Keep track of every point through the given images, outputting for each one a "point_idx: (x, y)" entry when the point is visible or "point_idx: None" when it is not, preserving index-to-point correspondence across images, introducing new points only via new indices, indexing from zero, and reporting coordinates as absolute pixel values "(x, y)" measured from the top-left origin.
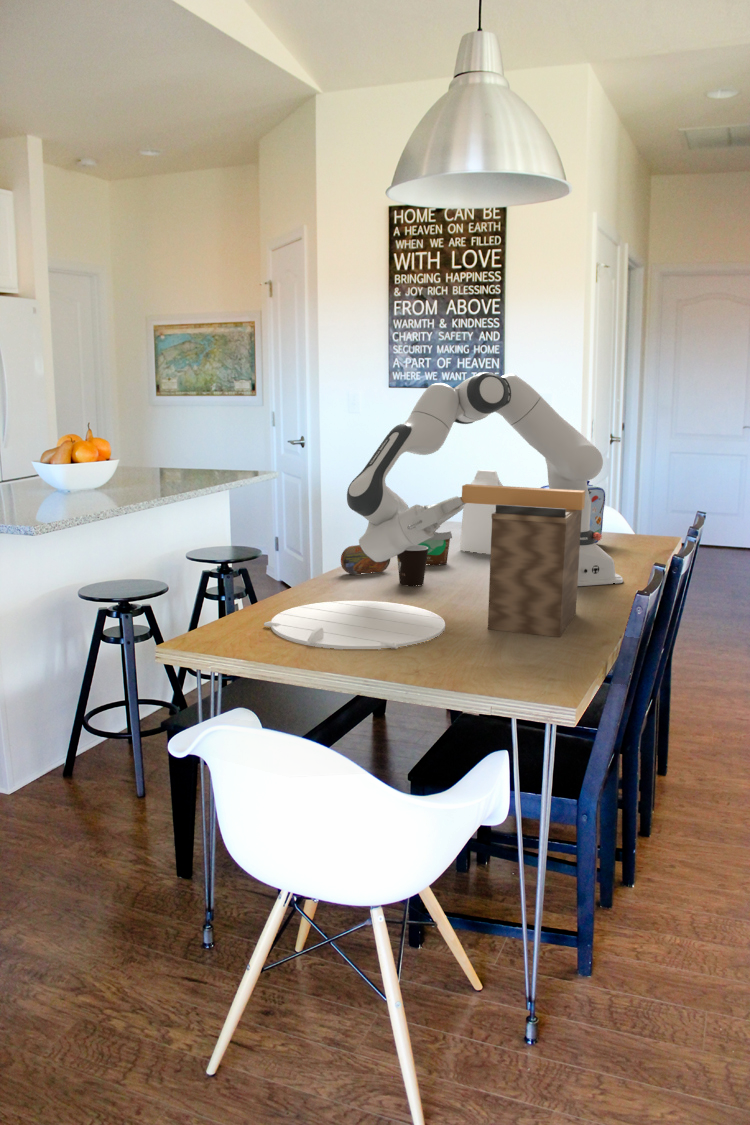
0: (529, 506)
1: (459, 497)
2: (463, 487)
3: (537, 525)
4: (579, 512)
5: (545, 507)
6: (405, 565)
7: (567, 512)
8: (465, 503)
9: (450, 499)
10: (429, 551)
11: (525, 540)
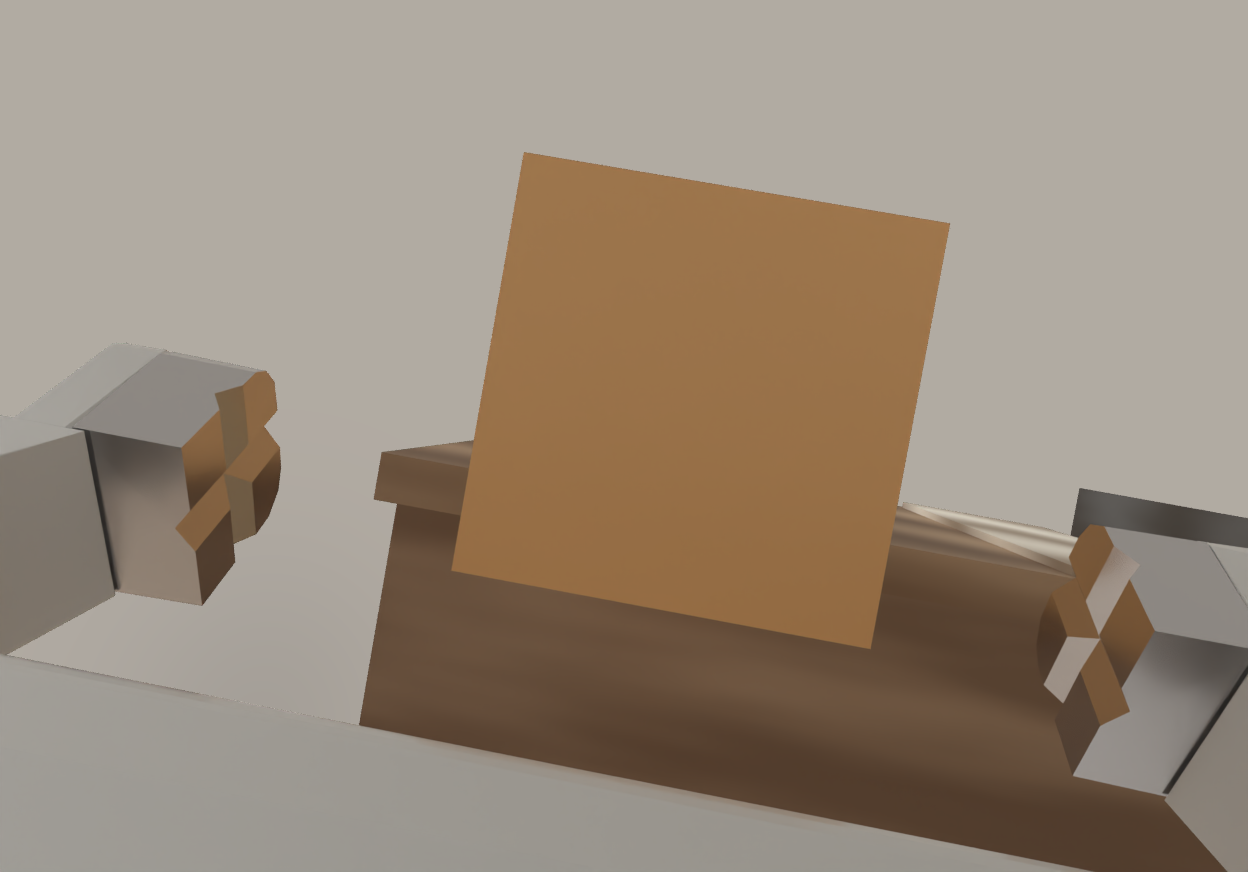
0: (1198, 509)
1: (1150, 534)
2: (928, 268)
3: None
4: None
5: (1141, 499)
6: None
7: (913, 504)
8: (8, 648)
9: (94, 674)
10: None
11: None
